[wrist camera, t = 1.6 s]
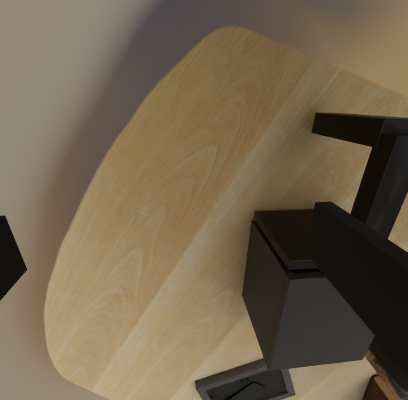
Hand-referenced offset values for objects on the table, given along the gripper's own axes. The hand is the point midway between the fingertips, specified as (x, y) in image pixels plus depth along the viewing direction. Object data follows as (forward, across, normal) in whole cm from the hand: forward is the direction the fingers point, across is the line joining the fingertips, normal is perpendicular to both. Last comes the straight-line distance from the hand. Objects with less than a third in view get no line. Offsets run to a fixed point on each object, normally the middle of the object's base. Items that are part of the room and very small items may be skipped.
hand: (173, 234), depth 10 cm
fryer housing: (+21, +18, -20) cm, 35 cm away
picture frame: (+21, +15, -58) cm, 63 cm away
